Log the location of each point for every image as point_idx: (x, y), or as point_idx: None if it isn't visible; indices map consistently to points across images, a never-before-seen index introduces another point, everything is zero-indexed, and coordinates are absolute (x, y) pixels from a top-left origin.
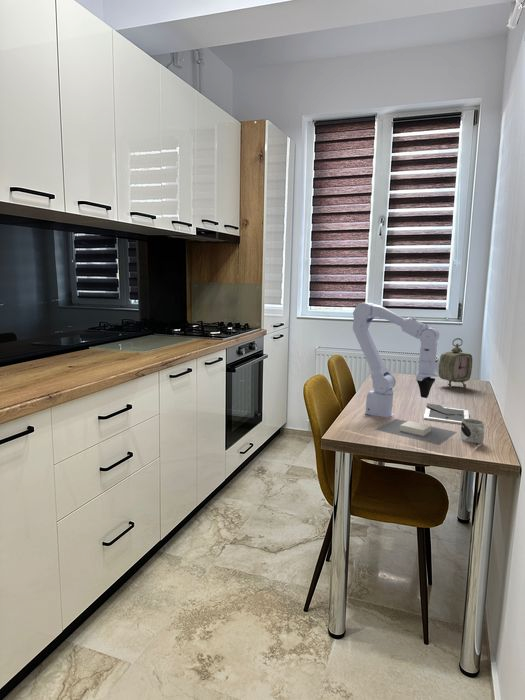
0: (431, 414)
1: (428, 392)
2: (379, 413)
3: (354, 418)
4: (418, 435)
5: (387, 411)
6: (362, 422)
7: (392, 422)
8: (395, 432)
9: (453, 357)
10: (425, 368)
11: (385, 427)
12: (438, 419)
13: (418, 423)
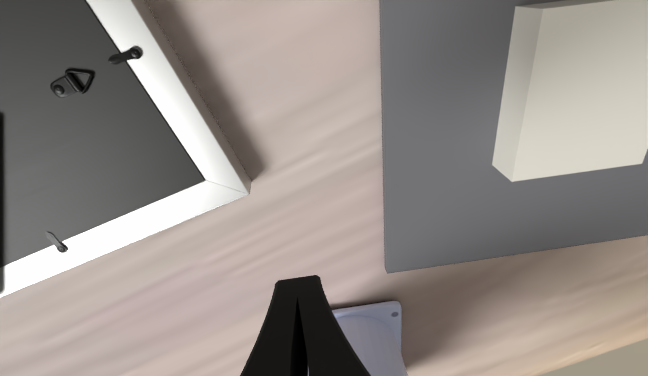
0: (126, 197)
1: (304, 321)
2: (398, 347)
3: (491, 361)
4: None
5: (379, 339)
6: (530, 320)
7: (472, 248)
8: None
9: None
10: None
11: (590, 222)
12: (195, 103)
13: (536, 107)
